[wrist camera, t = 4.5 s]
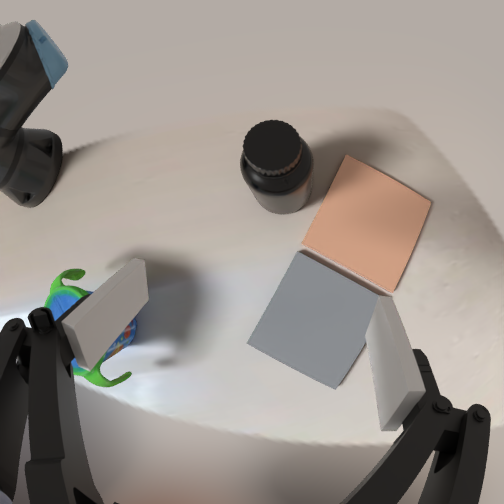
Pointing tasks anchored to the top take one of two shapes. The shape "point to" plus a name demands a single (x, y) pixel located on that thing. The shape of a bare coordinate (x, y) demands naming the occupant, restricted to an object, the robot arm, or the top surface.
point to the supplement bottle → (277, 166)
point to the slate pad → (315, 321)
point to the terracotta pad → (368, 223)
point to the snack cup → (62, 301)
